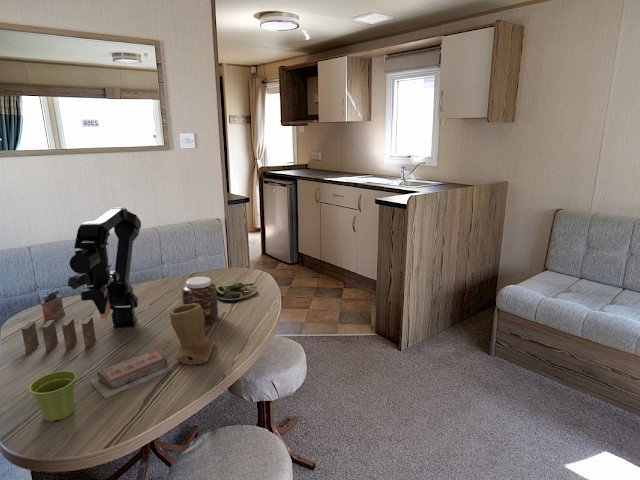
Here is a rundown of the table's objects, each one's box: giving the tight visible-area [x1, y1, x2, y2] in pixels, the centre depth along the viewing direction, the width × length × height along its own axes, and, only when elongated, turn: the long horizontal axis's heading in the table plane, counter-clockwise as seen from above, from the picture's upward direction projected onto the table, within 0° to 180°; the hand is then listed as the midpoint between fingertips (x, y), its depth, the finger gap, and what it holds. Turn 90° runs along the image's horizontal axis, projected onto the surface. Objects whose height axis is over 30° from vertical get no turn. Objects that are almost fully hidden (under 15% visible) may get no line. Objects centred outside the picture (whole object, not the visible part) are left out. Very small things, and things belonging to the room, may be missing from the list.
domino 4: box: [81, 316, 97, 348], centre depth 132 cm, size 2×5×8 cm, turn 12°
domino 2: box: [41, 320, 59, 352], centre depth 130 cm, size 2×5×8 cm, turn 12°
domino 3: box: [61, 317, 78, 350], centre depth 131 cm, size 2×5×8 cm, turn 12°
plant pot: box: [28, 370, 77, 422], centre depth 98 cm, size 9×9×9 cm
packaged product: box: [90, 349, 172, 399], centre depth 114 cm, size 18×5×10 cm
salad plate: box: [215, 282, 258, 303], centre depth 174 cm, size 19×18×5 cm
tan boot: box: [169, 303, 215, 366], centre depth 124 cm, size 15×12×15 cm
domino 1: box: [21, 321, 40, 354], centre depth 129 cm, size 2×5×8 cm, turn 12°
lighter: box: [40, 289, 66, 324], centre depth 150 cm, size 8×3×10 cm, turn 168°
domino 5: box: [99, 290, 112, 320], centre depth 131 cm, size 2×5×8 cm, turn 12°
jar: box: [181, 276, 219, 327], centre depth 147 cm, size 12×12×15 cm
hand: (104, 310), depth 131 cm, fingers closed on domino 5, 5 cm apart
